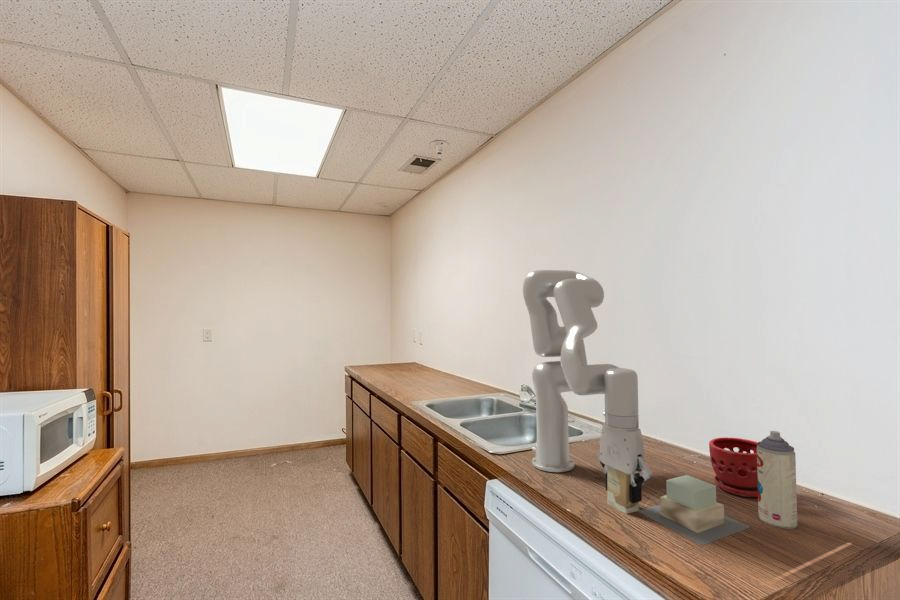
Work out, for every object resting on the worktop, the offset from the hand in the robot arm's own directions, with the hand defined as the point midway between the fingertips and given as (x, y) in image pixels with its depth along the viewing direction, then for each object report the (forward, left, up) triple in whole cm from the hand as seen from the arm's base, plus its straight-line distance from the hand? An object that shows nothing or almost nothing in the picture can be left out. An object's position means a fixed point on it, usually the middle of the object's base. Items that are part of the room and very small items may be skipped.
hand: (623, 494), depth 101 cm
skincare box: (0, 0, -3) cm, 3 cm away
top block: (+11, +9, +1) cm, 14 cm away
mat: (+11, +9, -3) cm, 15 cm away
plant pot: (+6, +35, -3) cm, 36 cm away
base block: (+11, +9, -3) cm, 14 cm away
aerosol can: (+20, +25, -3) cm, 32 cm away
